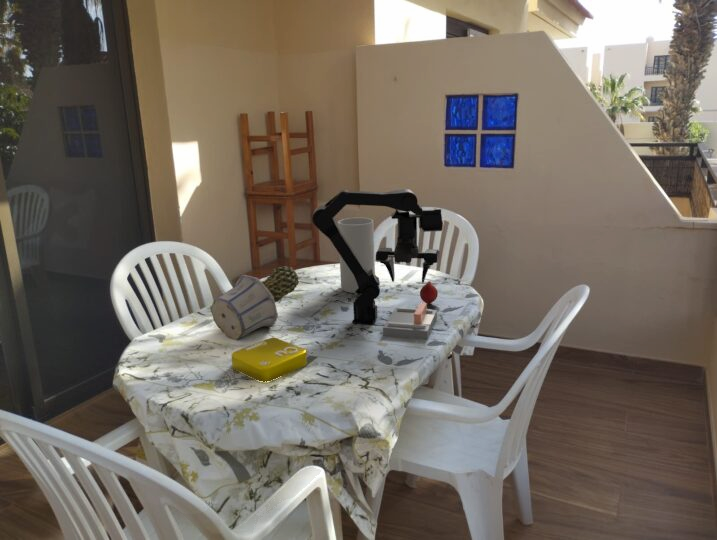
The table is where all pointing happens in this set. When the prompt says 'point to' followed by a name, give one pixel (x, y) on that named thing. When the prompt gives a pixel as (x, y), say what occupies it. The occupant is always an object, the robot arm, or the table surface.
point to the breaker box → (409, 324)
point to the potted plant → (252, 302)
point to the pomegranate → (428, 293)
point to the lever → (420, 313)
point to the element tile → (269, 359)
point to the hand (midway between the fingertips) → (408, 282)
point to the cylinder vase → (357, 248)
